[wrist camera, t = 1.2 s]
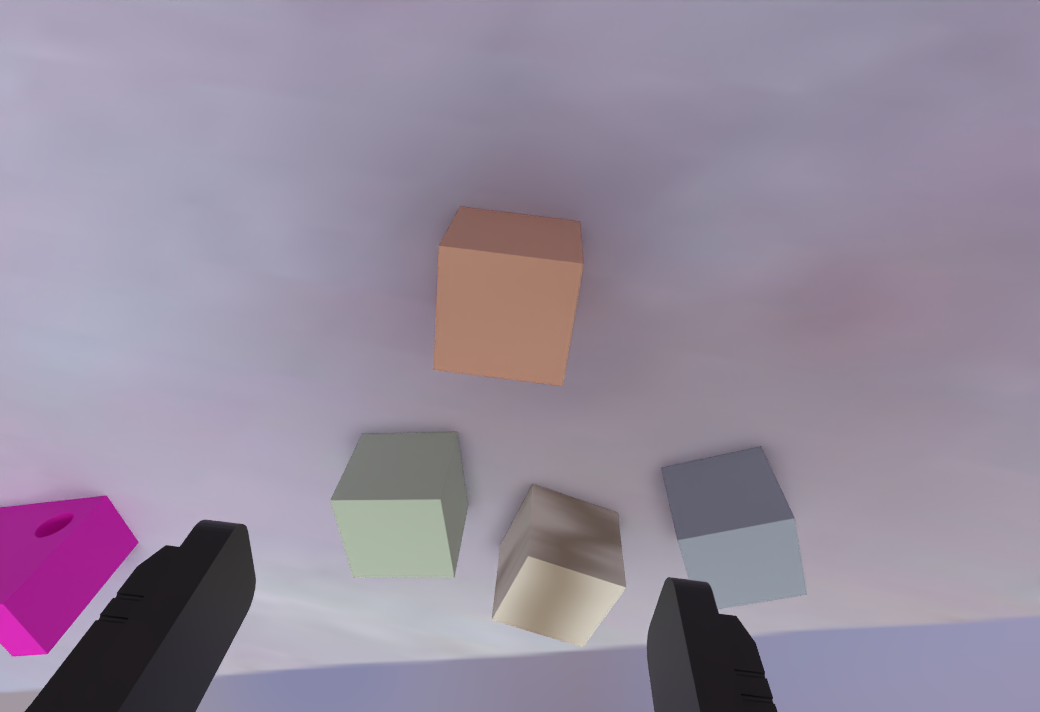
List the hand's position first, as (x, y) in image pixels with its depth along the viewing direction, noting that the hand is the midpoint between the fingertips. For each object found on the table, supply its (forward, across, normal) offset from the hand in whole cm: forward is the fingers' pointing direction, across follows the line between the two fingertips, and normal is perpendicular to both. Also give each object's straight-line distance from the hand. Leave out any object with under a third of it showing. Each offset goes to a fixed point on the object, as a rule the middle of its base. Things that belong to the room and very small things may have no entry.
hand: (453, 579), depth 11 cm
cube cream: (+17, -4, +15) cm, 23 cm away
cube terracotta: (+17, 0, 0) cm, 17 cm away
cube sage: (+17, +4, +12) cm, 21 cm away
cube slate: (+16, -12, +11) cm, 23 cm away
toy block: (+17, +28, +22) cm, 39 cm away
